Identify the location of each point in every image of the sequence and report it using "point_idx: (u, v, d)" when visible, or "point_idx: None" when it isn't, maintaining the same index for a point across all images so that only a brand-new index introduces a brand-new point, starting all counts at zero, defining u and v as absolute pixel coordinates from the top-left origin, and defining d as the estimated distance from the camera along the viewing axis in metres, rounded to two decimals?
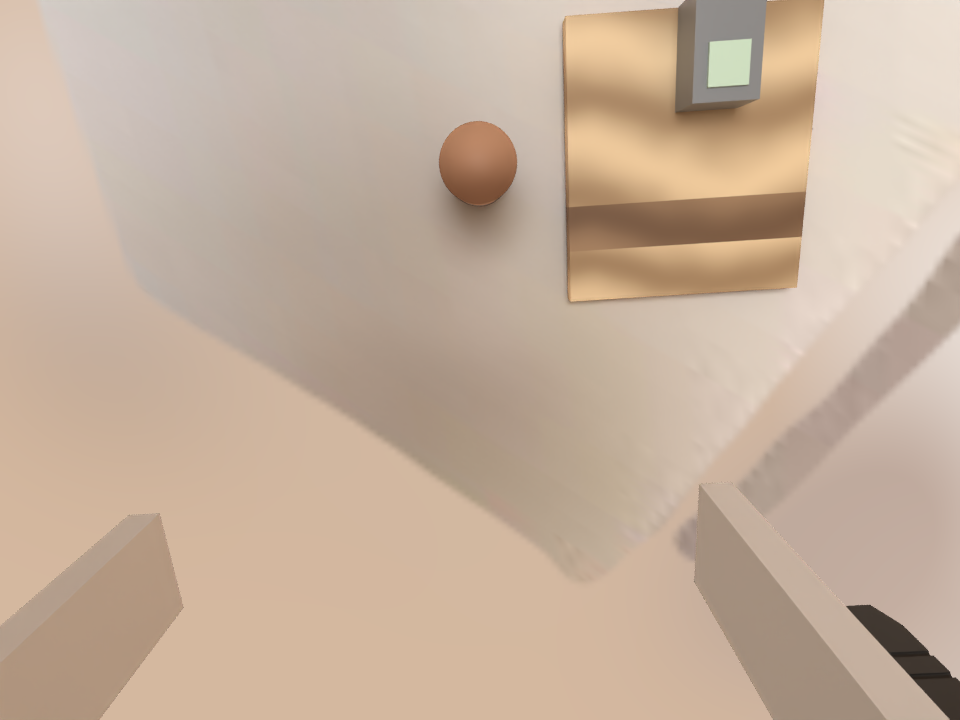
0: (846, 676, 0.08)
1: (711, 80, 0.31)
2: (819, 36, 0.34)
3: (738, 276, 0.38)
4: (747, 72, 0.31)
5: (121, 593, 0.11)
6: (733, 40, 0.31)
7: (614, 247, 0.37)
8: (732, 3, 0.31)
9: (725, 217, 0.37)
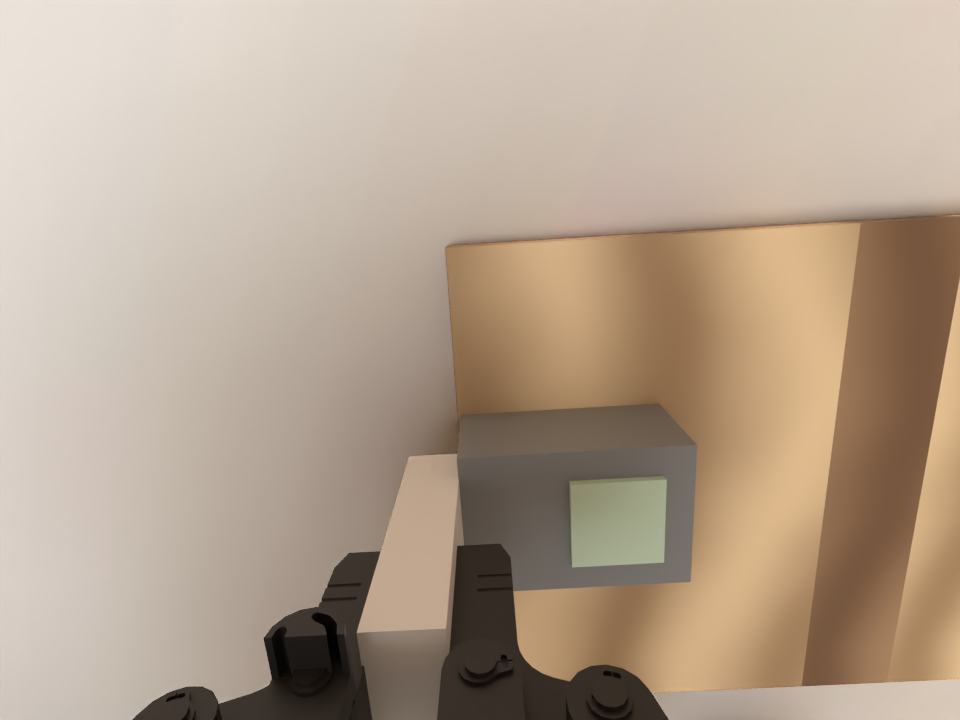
0: None
1: (651, 556, 0.14)
2: (522, 246, 0.15)
3: None
4: (641, 484, 0.13)
5: None
6: (572, 521, 0.14)
7: (897, 609, 0.18)
8: (495, 524, 0.14)
9: (883, 401, 0.16)
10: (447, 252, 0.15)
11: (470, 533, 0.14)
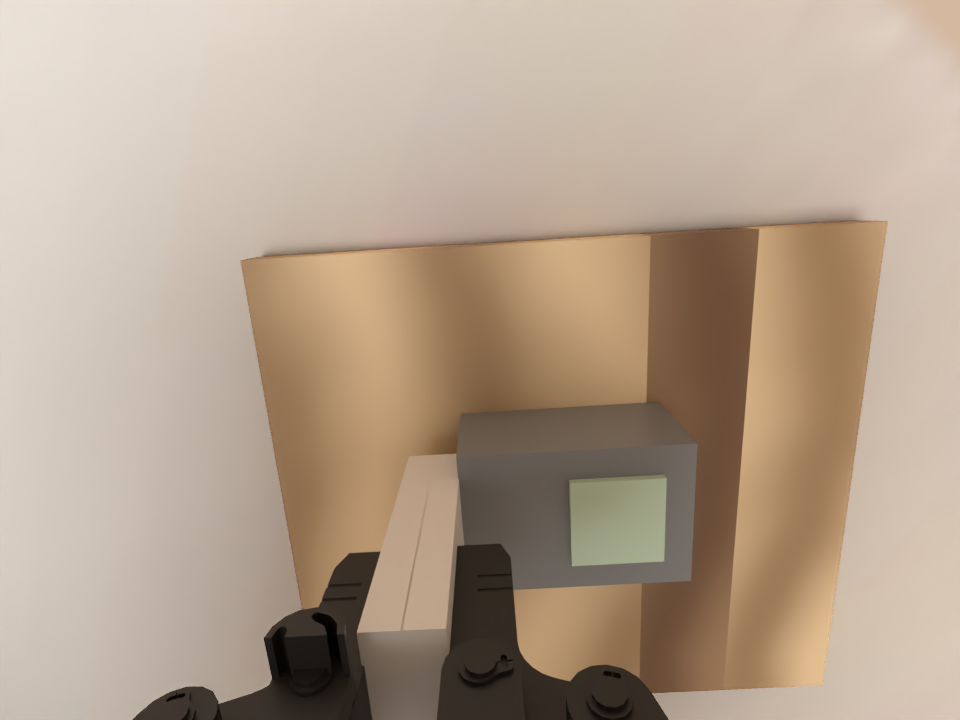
0: None
1: (651, 555, 0.14)
2: (317, 258, 0.15)
3: (831, 368, 0.16)
4: (641, 483, 0.13)
5: None
6: (571, 519, 0.14)
7: (726, 617, 0.18)
8: (495, 522, 0.14)
9: (691, 412, 0.16)
10: (243, 264, 0.15)
11: (470, 531, 0.14)
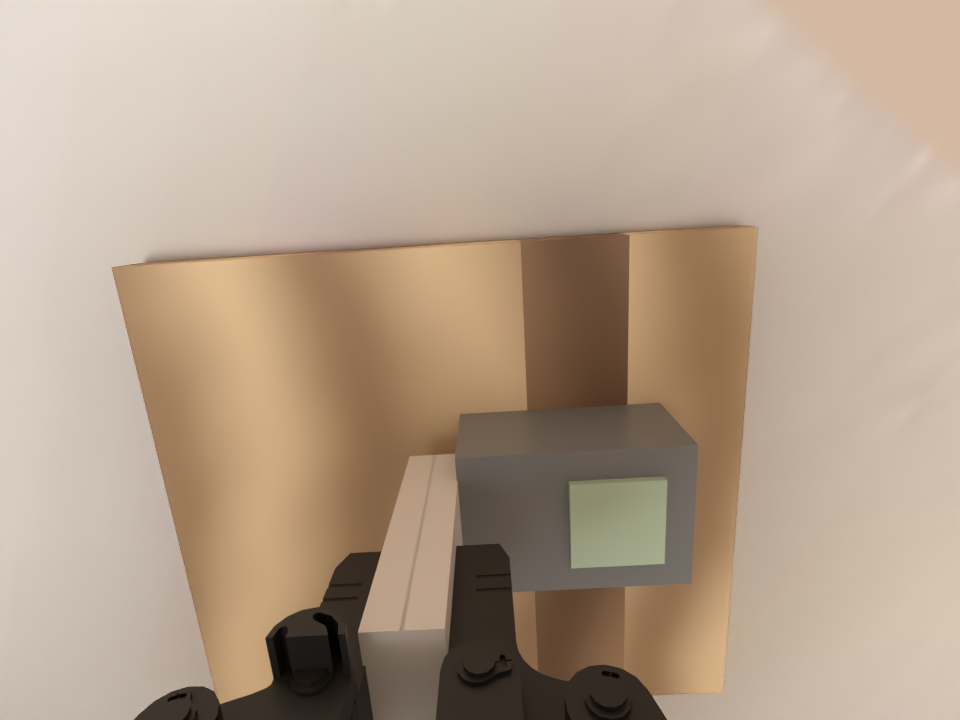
0: None
1: (651, 558, 0.14)
2: (188, 265, 0.15)
3: (711, 374, 0.16)
4: (642, 484, 0.13)
5: None
6: (571, 521, 0.13)
7: (621, 624, 0.18)
8: (494, 524, 0.14)
9: None
10: (115, 271, 0.15)
11: (469, 533, 0.14)
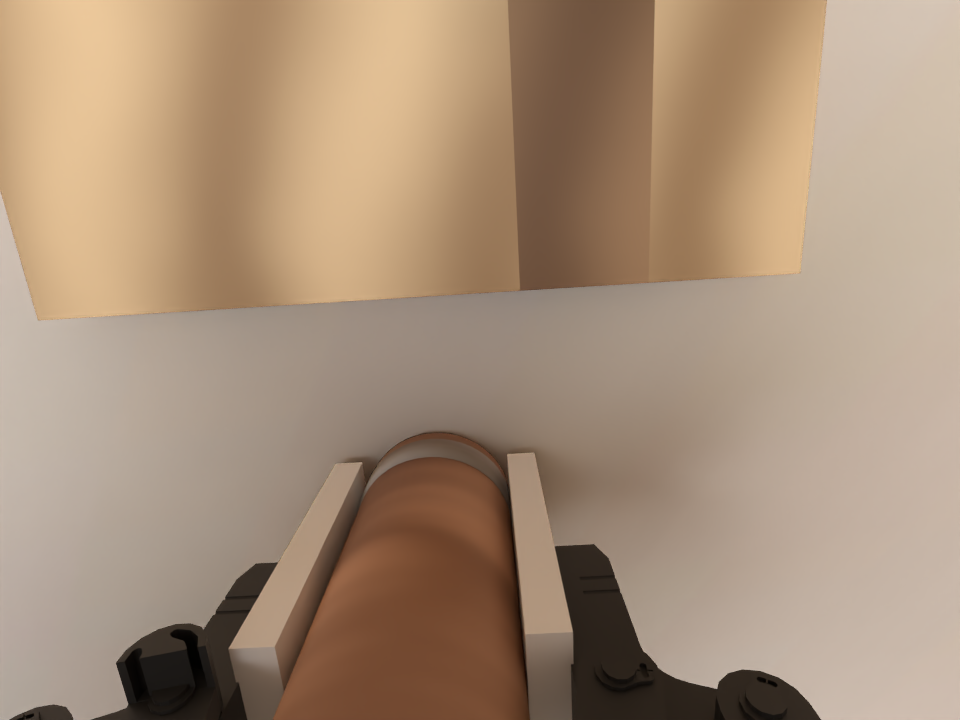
0: None
1: None
2: None
3: None
4: None
5: (351, 524, 0.13)
6: None
7: (647, 140, 0.12)
8: None
9: None
10: None
11: None
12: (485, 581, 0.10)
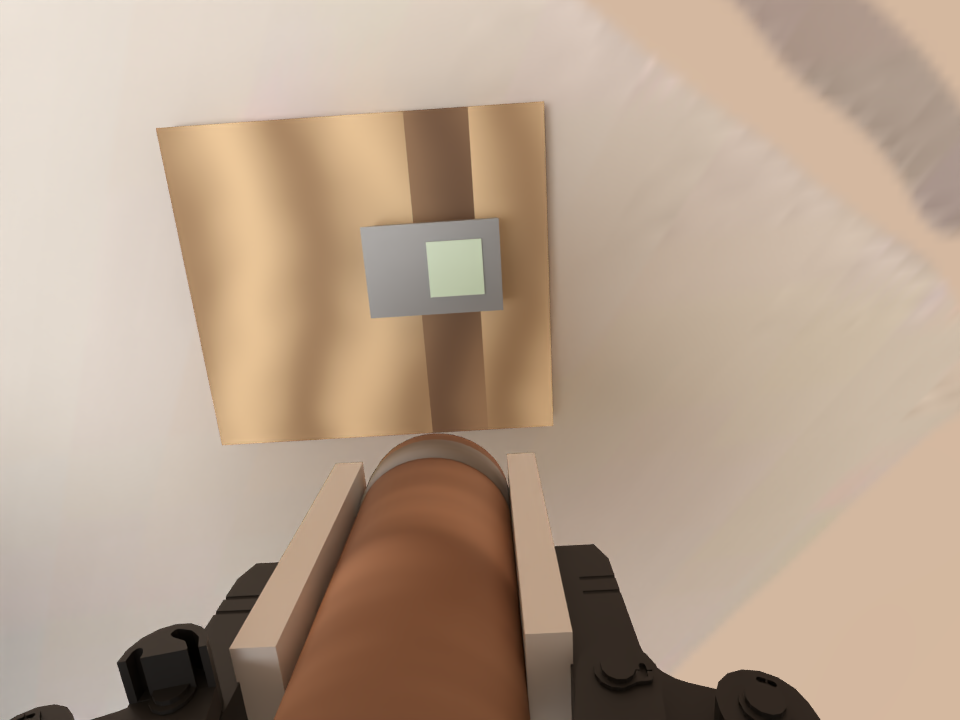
0: None
1: (476, 290, 0.24)
2: (202, 127, 0.25)
3: (525, 197, 0.26)
4: (467, 241, 0.23)
5: (352, 524, 0.13)
6: (428, 266, 0.23)
7: (482, 374, 0.28)
8: (384, 270, 0.24)
9: None
10: (157, 131, 0.25)
11: (370, 276, 0.24)
12: (485, 582, 0.10)
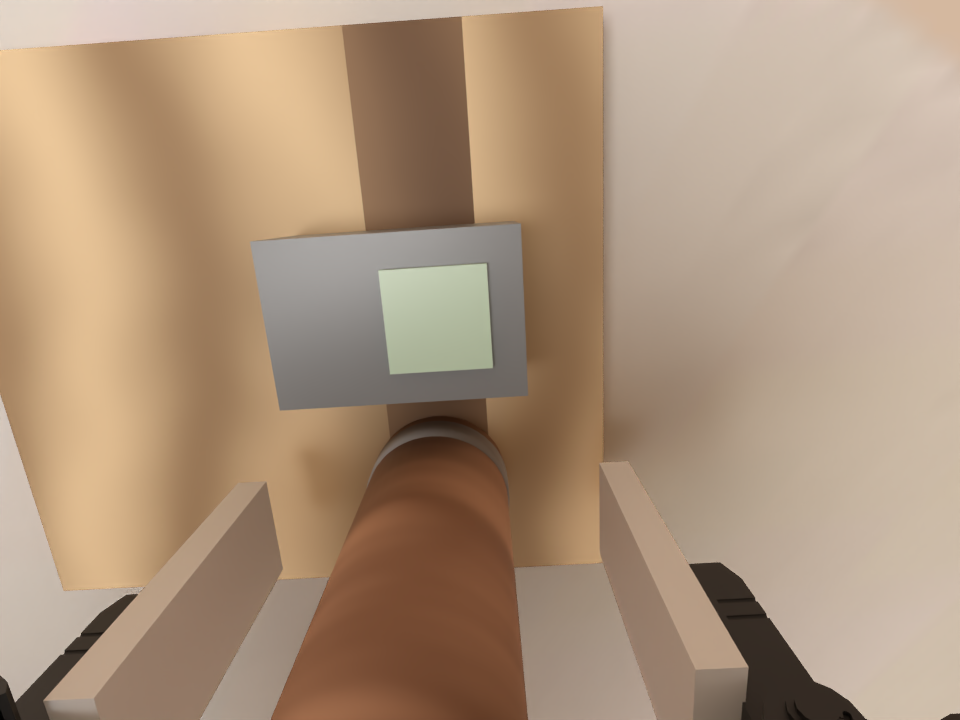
0: (667, 614, 0.09)
1: (478, 360, 0.12)
2: None
3: (564, 185, 0.14)
4: (458, 269, 0.12)
5: (244, 549, 0.13)
6: (384, 315, 0.12)
7: None
8: (302, 324, 0.12)
9: None
10: None
11: (275, 335, 0.12)
12: (483, 538, 0.11)
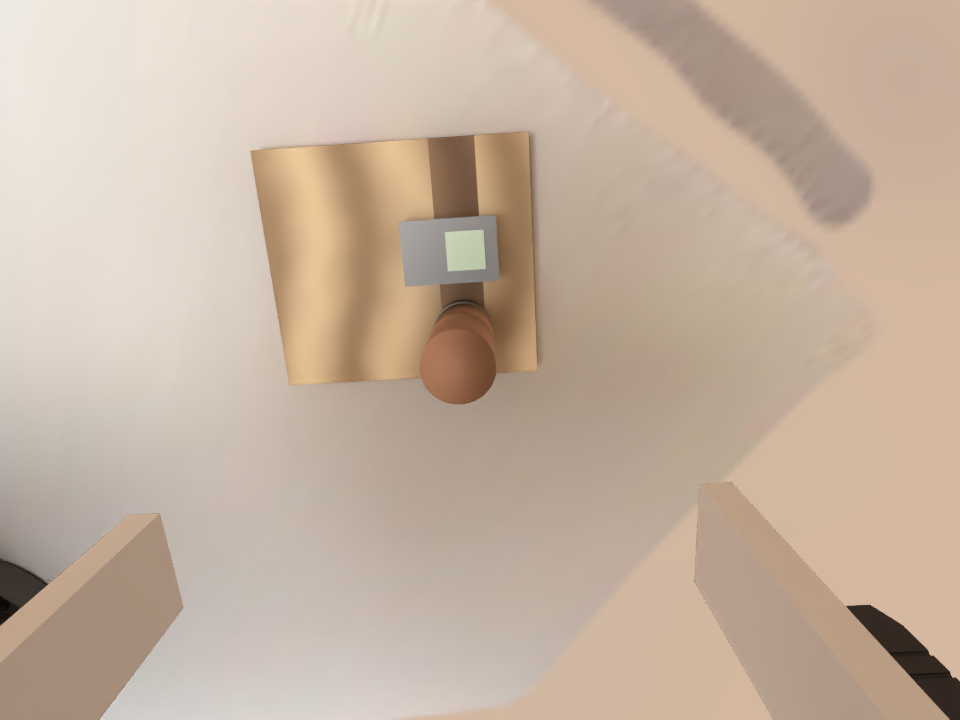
0: (846, 676, 0.08)
1: (480, 266, 0.33)
2: (283, 149, 0.35)
3: (515, 200, 0.35)
4: (473, 231, 0.33)
5: (121, 593, 0.11)
6: (446, 248, 0.33)
7: None
8: (415, 252, 0.33)
9: None
10: (251, 152, 0.35)
11: (405, 256, 0.33)
12: (482, 322, 0.32)
